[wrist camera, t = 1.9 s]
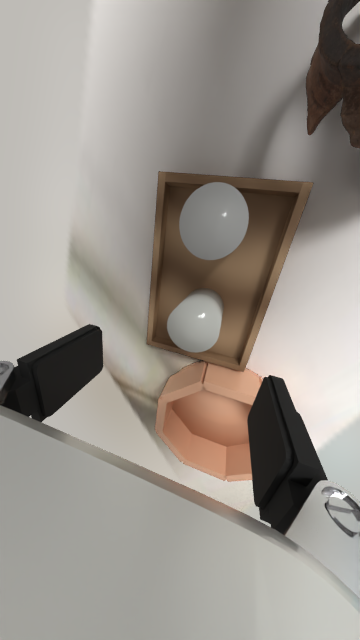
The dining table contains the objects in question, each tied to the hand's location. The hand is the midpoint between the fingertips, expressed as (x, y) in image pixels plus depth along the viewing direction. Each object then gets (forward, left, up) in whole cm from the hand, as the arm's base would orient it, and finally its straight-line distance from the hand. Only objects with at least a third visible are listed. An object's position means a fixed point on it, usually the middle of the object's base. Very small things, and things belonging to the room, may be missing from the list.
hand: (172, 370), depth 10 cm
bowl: (+12, +5, -10) cm, 17 cm away
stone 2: (-1, 0, -10) cm, 10 cm away
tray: (-3, 0, -10) cm, 11 cm away
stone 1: (-8, 0, -10) cm, 12 cm away
